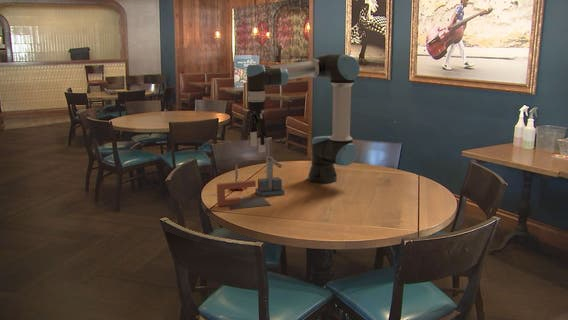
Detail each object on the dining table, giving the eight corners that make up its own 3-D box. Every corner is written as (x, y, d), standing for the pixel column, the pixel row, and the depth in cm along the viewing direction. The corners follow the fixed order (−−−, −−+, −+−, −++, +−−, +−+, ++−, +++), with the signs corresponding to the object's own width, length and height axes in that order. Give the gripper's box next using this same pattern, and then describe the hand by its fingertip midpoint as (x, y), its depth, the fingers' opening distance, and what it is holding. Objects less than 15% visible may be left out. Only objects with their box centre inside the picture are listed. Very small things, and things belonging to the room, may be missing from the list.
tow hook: (232, 186, 248) (227, 190, 239) (232, 161, 246) (227, 164, 237) (248, 187, 247) (244, 191, 238) (248, 161, 245) (244, 165, 236)
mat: (262, 196, 228) (262, 196, 228) (270, 205, 215) (270, 204, 215) (224, 200, 223) (224, 199, 223) (230, 209, 210) (230, 208, 210)
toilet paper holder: (279, 190, 239) (279, 154, 235) (292, 201, 221) (292, 163, 217) (255, 192, 236) (254, 156, 232) (267, 204, 217) (266, 165, 213)
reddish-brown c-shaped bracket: (254, 180, 219) (216, 183, 214) (255, 181, 217) (217, 184, 212) (254, 200, 221) (217, 204, 216) (255, 202, 219) (218, 206, 214)
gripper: (241, 98, 221) (242, 144, 226) (255, 104, 198) (257, 155, 203) (257, 97, 224) (258, 143, 228) (273, 103, 200) (274, 154, 205)
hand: (257, 149), depth 216 cm, fingers open, 13 cm apart
